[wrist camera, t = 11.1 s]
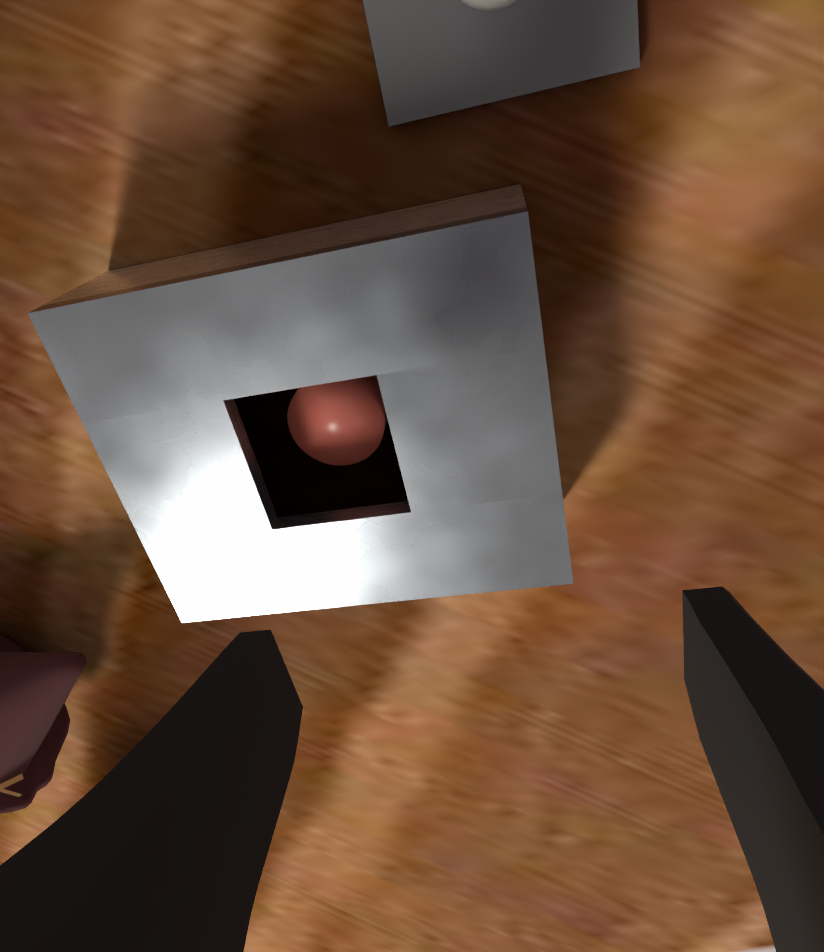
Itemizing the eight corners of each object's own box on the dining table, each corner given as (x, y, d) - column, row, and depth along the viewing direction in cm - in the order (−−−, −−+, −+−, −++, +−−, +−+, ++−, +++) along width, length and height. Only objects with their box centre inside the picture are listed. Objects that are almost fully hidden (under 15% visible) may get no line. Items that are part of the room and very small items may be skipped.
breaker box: (520, 184, 18) (528, 211, 14) (560, 505, 22) (572, 583, 19) (107, 271, 20) (27, 313, 16) (224, 546, 25) (181, 622, 21)
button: (379, 349, 20) (371, 369, 19) (399, 433, 21) (393, 458, 20) (288, 364, 20) (274, 385, 19) (314, 446, 22) (303, 471, 20)
